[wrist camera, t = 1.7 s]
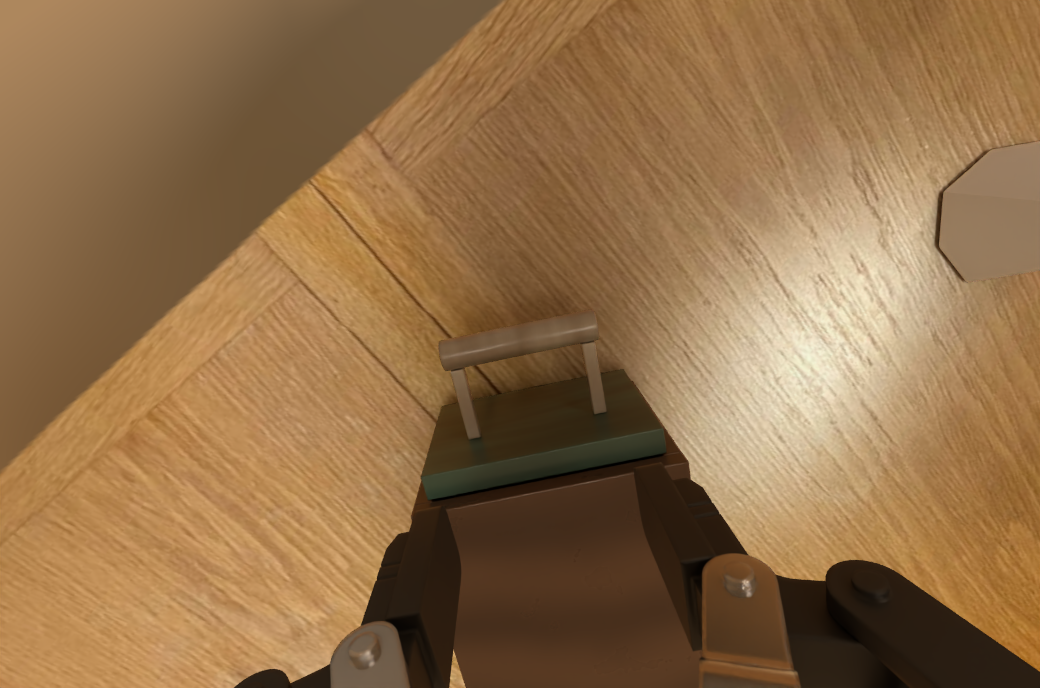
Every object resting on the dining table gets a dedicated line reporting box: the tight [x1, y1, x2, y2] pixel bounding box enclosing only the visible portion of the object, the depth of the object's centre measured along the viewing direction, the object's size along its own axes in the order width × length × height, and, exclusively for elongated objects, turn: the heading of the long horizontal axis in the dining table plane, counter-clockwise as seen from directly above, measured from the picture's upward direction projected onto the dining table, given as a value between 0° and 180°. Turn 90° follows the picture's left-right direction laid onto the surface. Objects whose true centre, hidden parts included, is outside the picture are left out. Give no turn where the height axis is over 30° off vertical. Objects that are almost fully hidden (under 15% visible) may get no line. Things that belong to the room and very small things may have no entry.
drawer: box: [421, 309, 667, 500], centre depth 25 cm, size 17×10×7 cm, turn 12°
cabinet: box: [411, 381, 702, 688], centre depth 26 cm, size 14×12×9 cm
